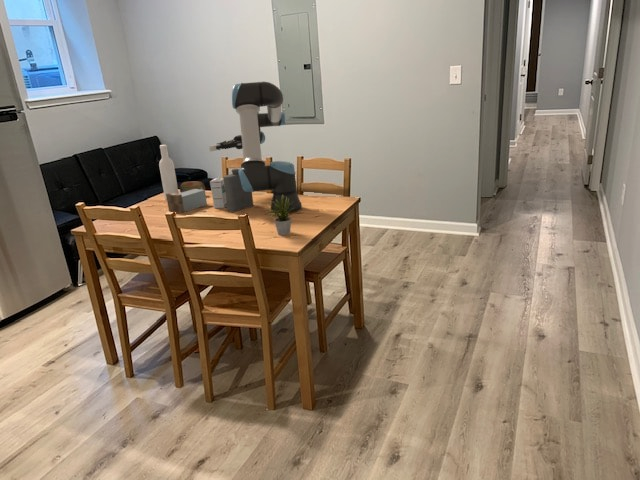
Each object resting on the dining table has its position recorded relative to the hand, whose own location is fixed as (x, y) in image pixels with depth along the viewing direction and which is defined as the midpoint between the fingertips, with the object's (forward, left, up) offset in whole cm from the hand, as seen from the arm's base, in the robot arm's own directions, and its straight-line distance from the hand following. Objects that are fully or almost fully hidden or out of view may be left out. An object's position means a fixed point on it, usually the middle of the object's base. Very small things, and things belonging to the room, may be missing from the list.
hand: (210, 148), depth 264 cm
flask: (-24, +6, -28) cm, 38 cm away
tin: (+22, -2, -28) cm, 36 cm away
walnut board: (+4, +24, -28) cm, 37 cm away
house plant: (-70, +26, -28) cm, 80 cm away
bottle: (+30, +7, -28) cm, 42 cm away
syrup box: (-12, +8, -28) cm, 32 cm away
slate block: (+3, +16, -28) cm, 33 cm away
